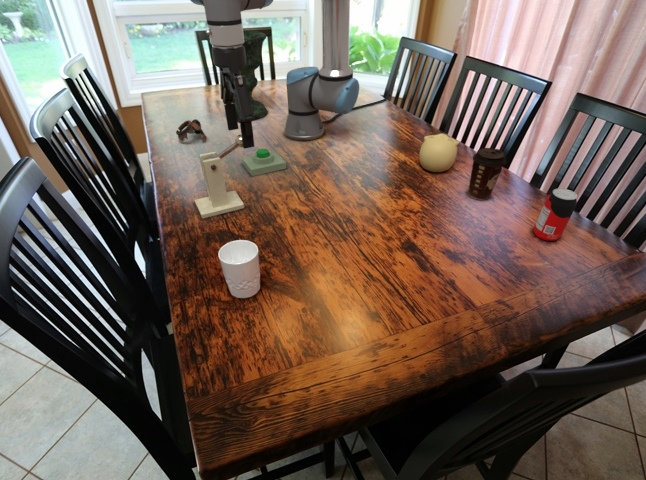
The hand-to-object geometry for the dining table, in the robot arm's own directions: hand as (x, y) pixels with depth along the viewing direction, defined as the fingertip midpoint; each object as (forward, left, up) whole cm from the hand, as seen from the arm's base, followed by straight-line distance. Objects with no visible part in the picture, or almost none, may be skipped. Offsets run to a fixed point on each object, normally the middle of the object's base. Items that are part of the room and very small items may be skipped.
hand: (240, 138), depth 100 cm
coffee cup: (-61, +29, -18) cm, 70 cm away
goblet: (-22, -70, -18) cm, 76 cm away
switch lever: (+4, 0, -4) cm, 6 cm away
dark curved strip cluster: (+5, -52, -18) cm, 55 cm away
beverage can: (-61, +52, -18) cm, 82 cm away
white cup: (+13, +36, -18) cm, 42 cm away
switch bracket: (+9, 0, -18) cm, 20 cm away
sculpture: (-61, +9, -18) cm, 64 cm away
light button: (-11, -18, -14) cm, 26 cm away
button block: (-11, -18, -18) cm, 28 cm away
